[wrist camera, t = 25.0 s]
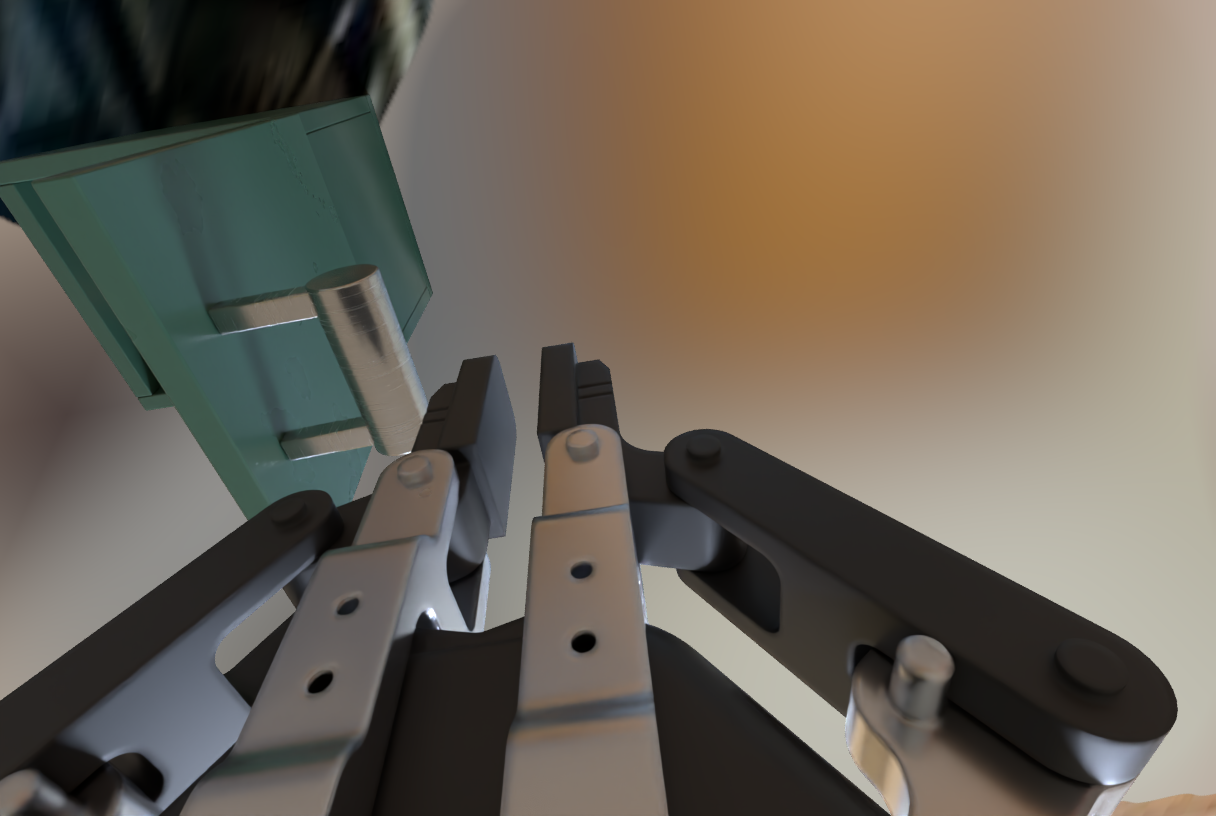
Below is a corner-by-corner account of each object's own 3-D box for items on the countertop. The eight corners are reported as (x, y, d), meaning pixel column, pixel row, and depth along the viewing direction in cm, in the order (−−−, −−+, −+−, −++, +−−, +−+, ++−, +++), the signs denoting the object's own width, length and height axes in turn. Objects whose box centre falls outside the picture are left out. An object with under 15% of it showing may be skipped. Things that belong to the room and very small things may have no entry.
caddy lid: (293, 593, 17) (462, 559, 17) (27, 181, 11) (295, 135, 11) (382, 377, 28) (484, 358, 29) (277, 116, 22) (407, 94, 22)
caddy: (244, 323, 38) (145, 411, 29) (144, 131, 32) (-22, 165, 23) (433, 293, 38) (393, 371, 29) (369, 94, 32) (292, 113, 23)
